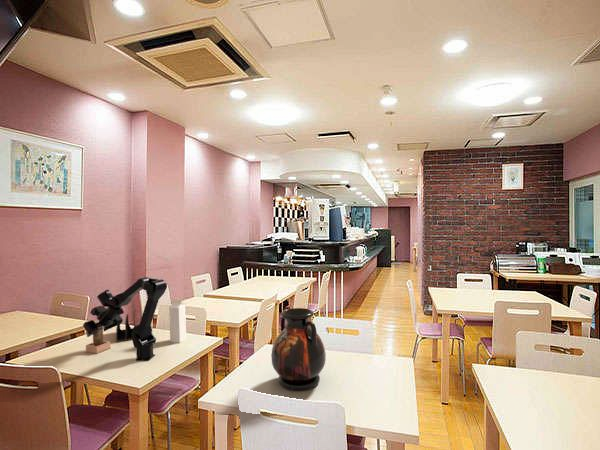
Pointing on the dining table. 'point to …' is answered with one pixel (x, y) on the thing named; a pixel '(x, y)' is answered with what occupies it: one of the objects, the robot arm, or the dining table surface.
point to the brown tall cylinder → (98, 336)
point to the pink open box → (98, 347)
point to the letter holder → (125, 334)
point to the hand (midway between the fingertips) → (95, 333)
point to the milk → (177, 321)
